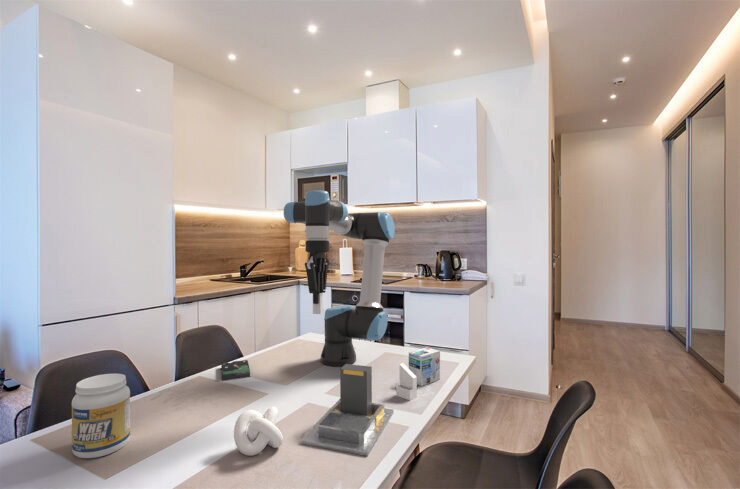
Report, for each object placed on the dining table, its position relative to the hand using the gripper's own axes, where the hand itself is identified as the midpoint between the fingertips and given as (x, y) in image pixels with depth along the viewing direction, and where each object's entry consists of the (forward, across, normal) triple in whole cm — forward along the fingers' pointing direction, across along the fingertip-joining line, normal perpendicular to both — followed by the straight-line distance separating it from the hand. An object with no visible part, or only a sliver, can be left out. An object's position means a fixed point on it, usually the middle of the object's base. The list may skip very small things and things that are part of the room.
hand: (317, 313), depth 123 cm
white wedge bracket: (+29, -13, +26) cm, 41 cm away
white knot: (+29, +28, -2) cm, 40 cm away
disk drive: (+29, -14, -43) cm, 54 cm away
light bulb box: (+29, -29, +29) cm, 50 cm away
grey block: (+27, +8, +16) cm, 32 cm away
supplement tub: (+29, +41, -40) cm, 64 cm away
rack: (+28, +12, +16) cm, 35 cm away
